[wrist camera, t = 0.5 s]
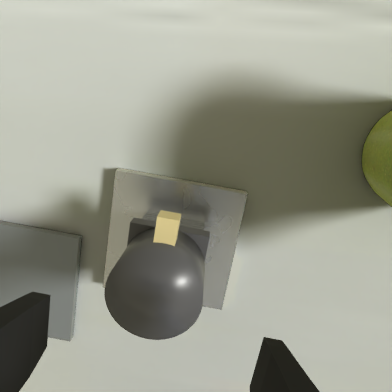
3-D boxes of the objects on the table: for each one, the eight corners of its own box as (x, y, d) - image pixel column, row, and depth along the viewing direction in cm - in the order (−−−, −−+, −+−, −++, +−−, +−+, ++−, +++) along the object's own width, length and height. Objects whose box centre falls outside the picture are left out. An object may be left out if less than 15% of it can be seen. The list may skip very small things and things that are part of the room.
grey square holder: (221, 302, 21) (222, 332, 19) (106, 281, 22) (90, 307, 19) (246, 191, 19) (252, 204, 17) (119, 168, 20) (103, 177, 17)
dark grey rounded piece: (197, 300, 18) (193, 347, 14) (123, 286, 18) (100, 329, 15) (216, 209, 17) (216, 235, 13) (135, 194, 17) (112, 216, 13)
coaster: (73, 336, 23) (70, 341, 22) (-35, 316, 23) (-40, 320, 22) (81, 235, 21) (78, 238, 20) (-37, 214, 21) (-42, 216, 20)
